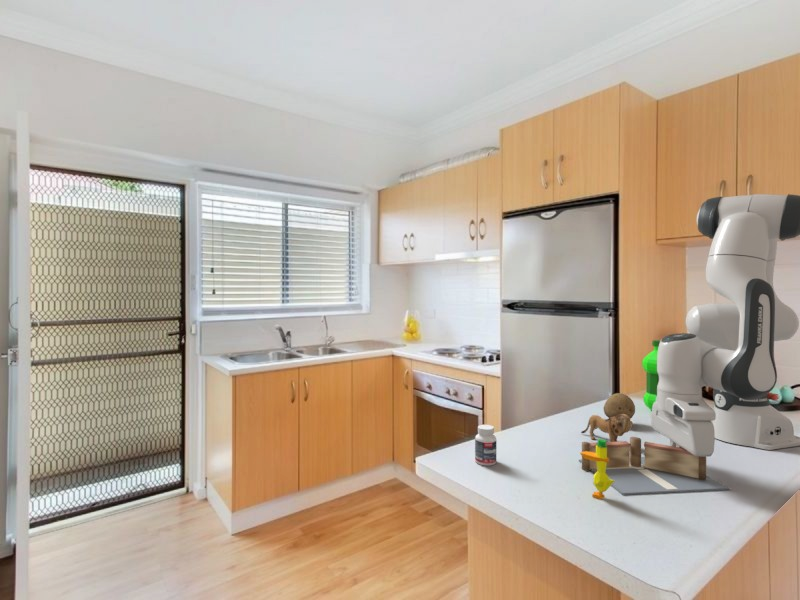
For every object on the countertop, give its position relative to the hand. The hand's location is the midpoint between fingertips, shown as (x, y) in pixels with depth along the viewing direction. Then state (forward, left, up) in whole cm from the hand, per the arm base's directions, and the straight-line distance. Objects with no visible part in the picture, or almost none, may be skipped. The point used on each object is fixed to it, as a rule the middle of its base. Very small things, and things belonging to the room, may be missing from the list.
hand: (679, 460), depth 100 cm
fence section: (+15, -3, -3) cm, 15 cm away
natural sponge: (-7, -35, -3) cm, 36 cm away
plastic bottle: (-30, -48, -3) cm, 57 cm away
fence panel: (+3, +2, -2) cm, 4 cm away
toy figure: (+26, +10, -3) cm, 28 cm away
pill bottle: (+44, -10, -3) cm, 45 cm away
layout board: (+8, +1, -3) cm, 9 cm away
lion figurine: (+5, -21, -3) cm, 22 cm away
